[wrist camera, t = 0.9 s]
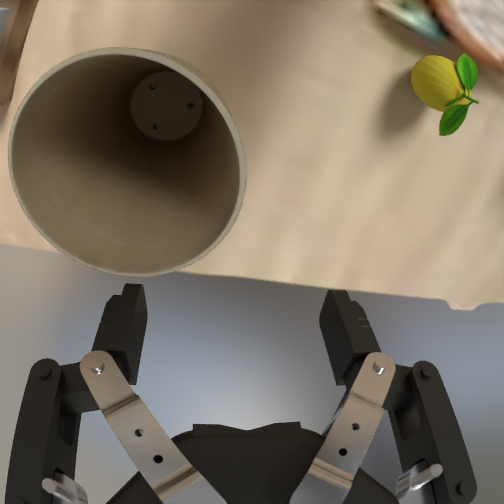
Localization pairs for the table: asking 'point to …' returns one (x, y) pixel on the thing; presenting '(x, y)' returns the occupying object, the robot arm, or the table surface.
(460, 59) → the lemon
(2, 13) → the grey upper slab
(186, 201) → the plant pot
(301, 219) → the table surface
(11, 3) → the walnut base slab
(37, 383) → the robot arm
